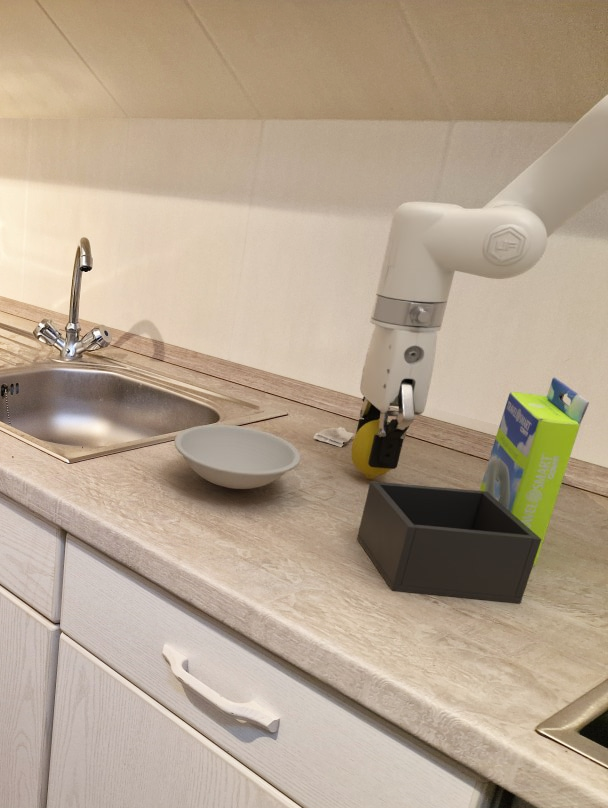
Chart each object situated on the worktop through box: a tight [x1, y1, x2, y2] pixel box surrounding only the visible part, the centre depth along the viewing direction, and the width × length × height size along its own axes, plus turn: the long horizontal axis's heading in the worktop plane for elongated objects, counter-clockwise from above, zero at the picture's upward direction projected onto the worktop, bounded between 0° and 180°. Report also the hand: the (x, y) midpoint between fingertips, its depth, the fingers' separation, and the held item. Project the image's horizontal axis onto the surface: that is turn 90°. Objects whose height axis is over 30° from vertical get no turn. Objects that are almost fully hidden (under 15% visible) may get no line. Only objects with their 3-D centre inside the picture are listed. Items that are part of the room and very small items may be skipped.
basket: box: [356, 481, 541, 604], centre depth 83 cm, size 11×11×7 cm
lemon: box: [350, 419, 402, 480], centre depth 106 cm, size 6×6×8 cm
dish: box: [174, 424, 302, 490], centre depth 102 cm, size 18×14×5 cm
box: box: [479, 377, 590, 566], centre depth 87 cm, size 10×4×17 cm, turn 164°
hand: (374, 457), depth 106 cm, fingers closed on lemon, 5 cm apart
